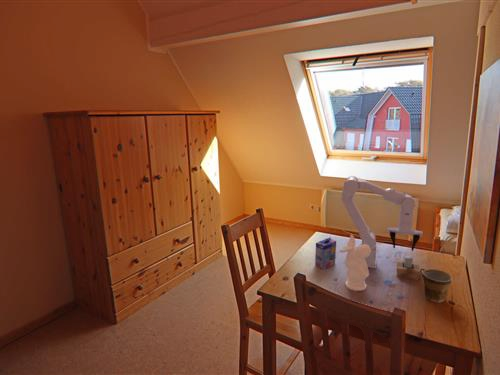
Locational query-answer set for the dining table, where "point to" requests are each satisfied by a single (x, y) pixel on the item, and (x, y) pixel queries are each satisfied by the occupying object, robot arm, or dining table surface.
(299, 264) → the dining table surface
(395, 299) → the dining table surface
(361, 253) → the cherub figurine
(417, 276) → the socket block
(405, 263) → the dowel
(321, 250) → the ink cartridge box
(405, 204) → the robot arm
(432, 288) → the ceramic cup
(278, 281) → the dining table surface
